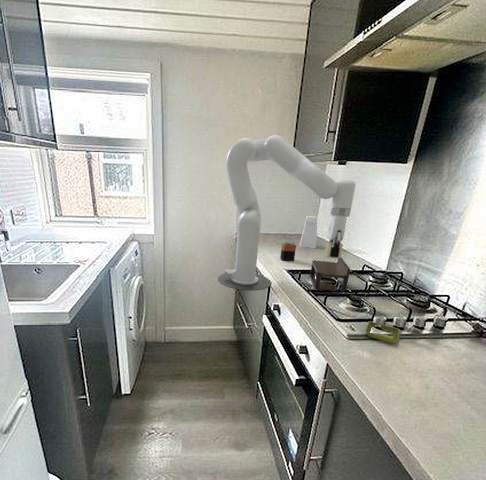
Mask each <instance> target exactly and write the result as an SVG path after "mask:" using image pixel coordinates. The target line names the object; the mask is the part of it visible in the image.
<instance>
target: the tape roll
mask: <svg viewBox="0 0 486 480" xmlns="http://www.w3.org/2000/svg"><path fill="white" fill-rule="evenodd" d="M332 246H333V242H329V241H327V242H326V245H325V250H324V257H326V258H329V259H338V258H340V257H341V258H342V253H343V252H342V251H343V246H344V245H343V243H342V242H340V250H339V256H338V257H330V253H331V247H332Z"/></svg>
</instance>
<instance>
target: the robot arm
mask: <svg viewBox="0 0 486 480" xmlns="http://www.w3.org/2000/svg"><path fill="white" fill-rule="evenodd" d="M270 160H272V161H273V162H274V163H275V164H277V165H278V166H279V167H280V168H281V169H283V170H284V171H285V172H286V173H287V174H288V175H290V176H291V177H292V178H294V179H296V180H298V181H299V182H301V183H302V184H304V186H306V187H308V188H309V189H310V190H311V191H312V192H313V193H314V195H315V196H316V197H317V198H320V199H323V200H329V199H331V198H332V200H331V207H330V212H329V216H331V217H330V221H329V224H328V229H327V233H326V236H327V238H328V240H329V241H328V242H333V246H332V247H331V253H330V257H338V256H339V250H340V243H342V241H343V240H344V237H345V231H346V225H347V220H348V219H347V218H349V217H350V216H351V211H352V206H353V200H354V195H355V190H356V182H355V181H354V180H350V179H338V180H335V179H333V178H332V177H331V176H329V175H328V174H327V173H326V172H325V171H323V169H321V168H320V167H319V166H317V165H316V164H314V163H313V162H312V161H311V160H310V159H309V158H307V157H306V156H305V155H304V154H303V153H302V152H300V151H299V150H298V149H296V147H294V146H293V145H292V144H291V143H290V142H288V141H287V140H286V139H285V138H284V137H282V136H281V135H280V134H279V135H278V134H274V135H273V134H272V135H271V136H269V137H268V138H262V139H254V140H253V139H251V138H248V137H243V138H240V139H238V140H237V141H236V142H234V144H233V145H232V146H231V147H230V148H229V151H228V153H227V155H226V161H225V162H226V163H225V166H226V173H227V178H228V182H229V187H230V191H231V196H232V201H233V203H234V204H235V206H236V208H237V211H238V212H237V213H238V215H239V218H238V221H237V233H236V234H237V235H236V251H235V263H234V269H225V270H224V273H225V274H227V275H232V276H231V281H233V282H234V283H237V284H242V285H253V284H256V283H257V282H258V278H257V277H255V274H257V262H258V255H259V242H260V234H261V227H262V215H261V210H260V206H259V201H258V197H257V194H256V190H255V188H253V186H252V183H251V179H250V173H249V169H248V163H252V162H261V161H270ZM330 257H329V258H330Z"/></svg>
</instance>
